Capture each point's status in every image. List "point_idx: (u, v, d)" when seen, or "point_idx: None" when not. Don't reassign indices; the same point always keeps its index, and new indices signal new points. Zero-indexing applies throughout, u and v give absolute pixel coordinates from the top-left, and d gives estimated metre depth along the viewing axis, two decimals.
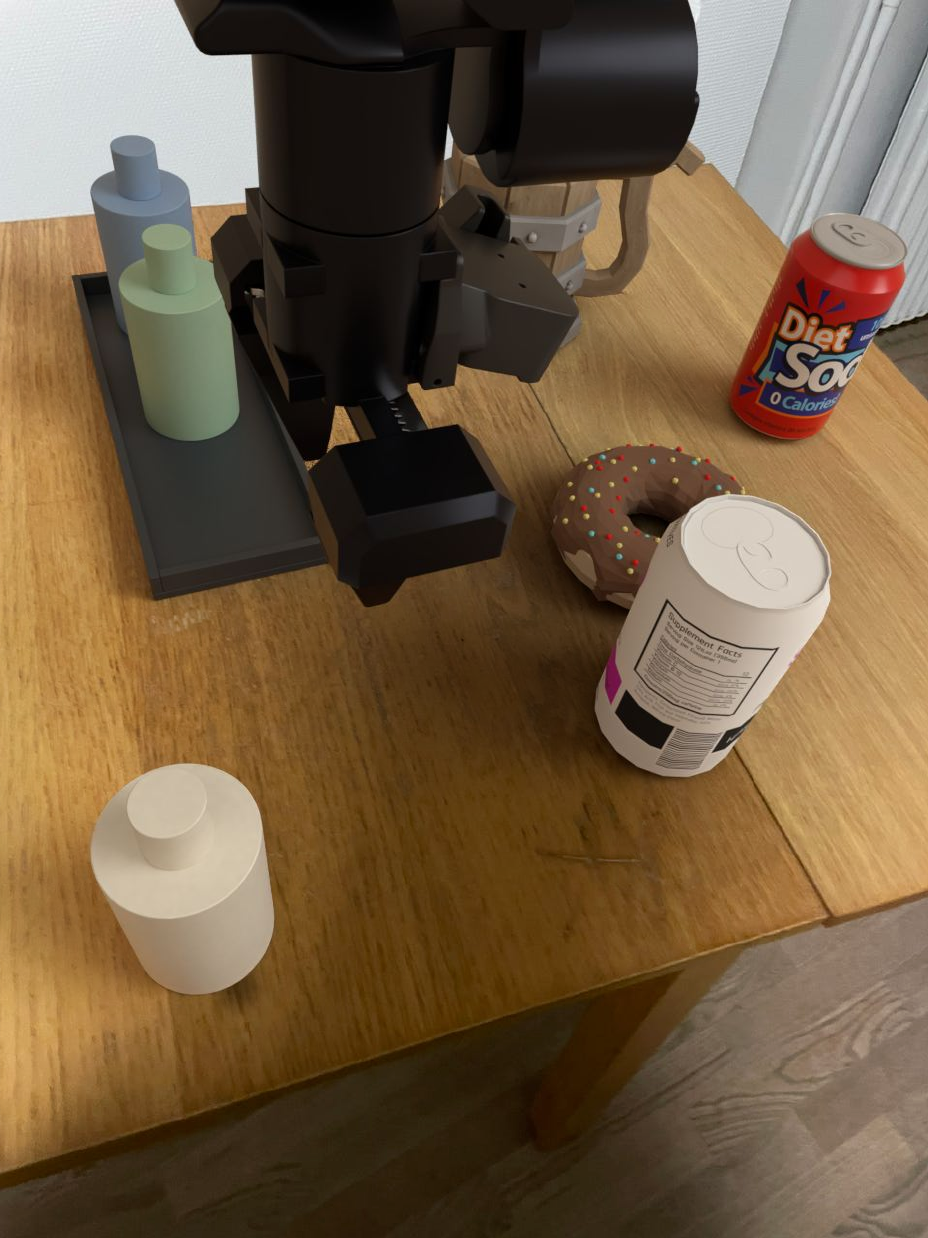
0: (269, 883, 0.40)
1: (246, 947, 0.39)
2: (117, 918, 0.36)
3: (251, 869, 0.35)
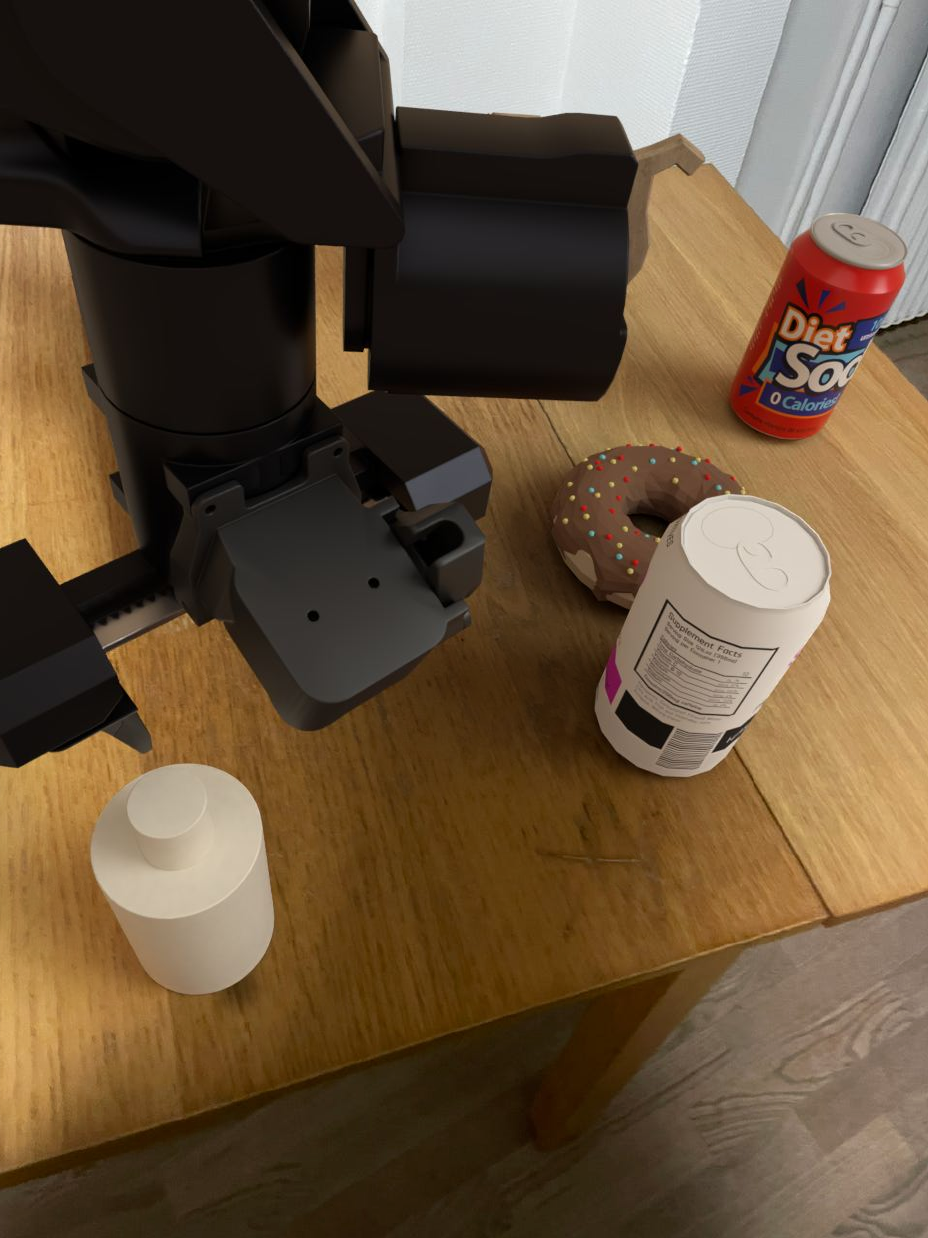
0: (269, 883, 0.40)
1: (246, 947, 0.39)
2: (117, 918, 0.36)
3: (251, 869, 0.35)
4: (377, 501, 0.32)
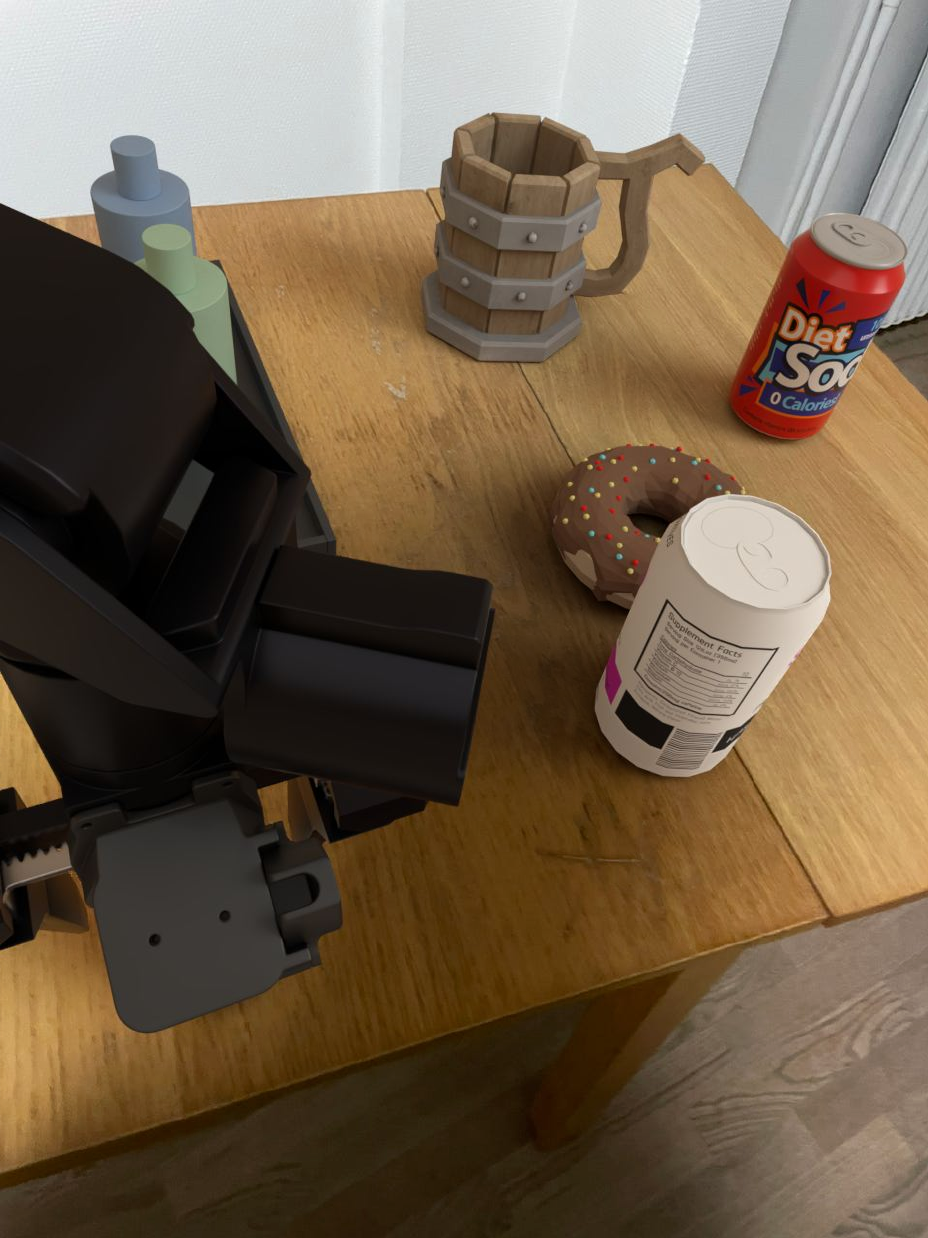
0: None
1: None
2: None
3: None
4: (318, 778, 0.34)
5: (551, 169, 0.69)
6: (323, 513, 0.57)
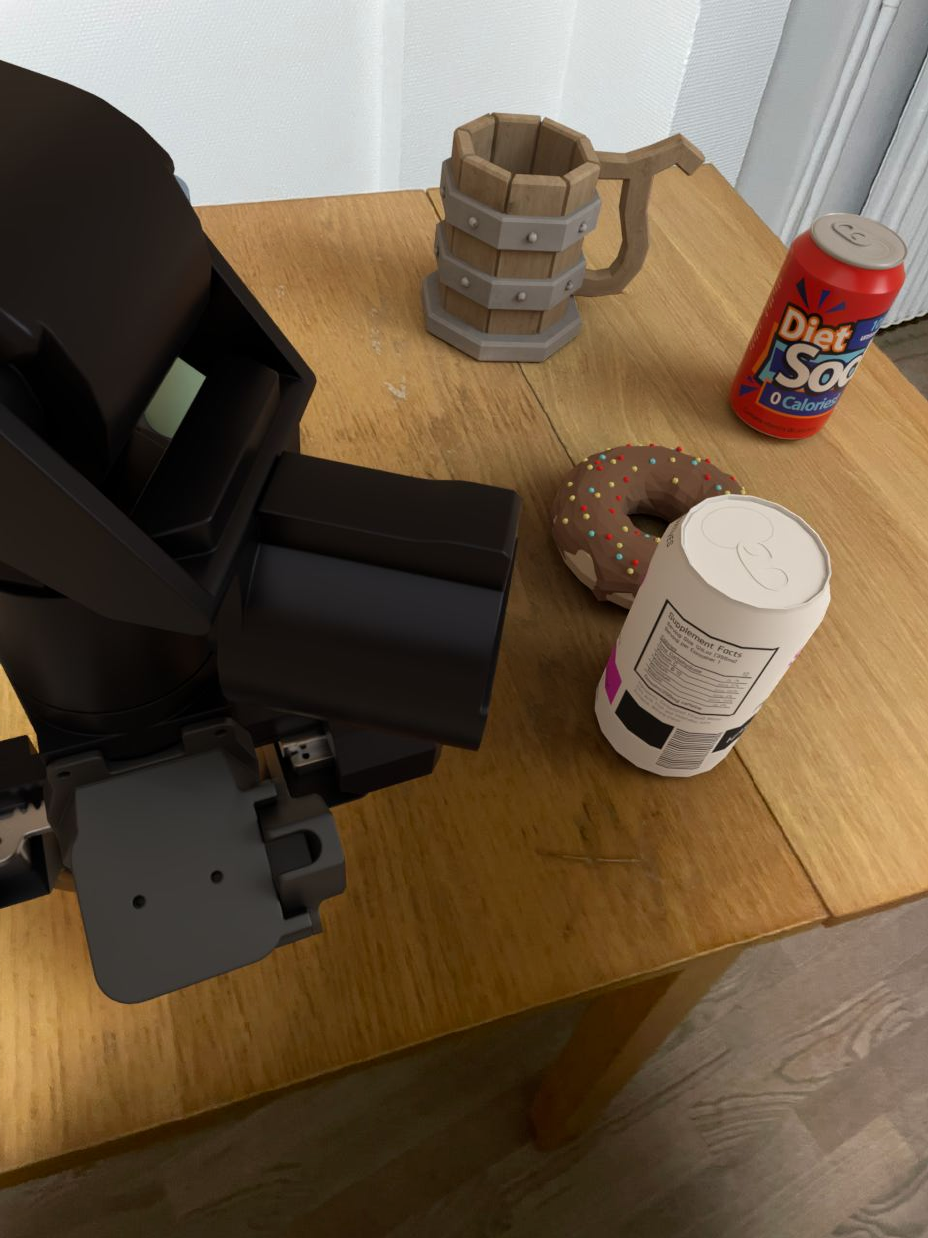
0: None
1: None
2: None
3: None
4: (285, 746, 0.31)
5: (551, 169, 0.69)
6: None
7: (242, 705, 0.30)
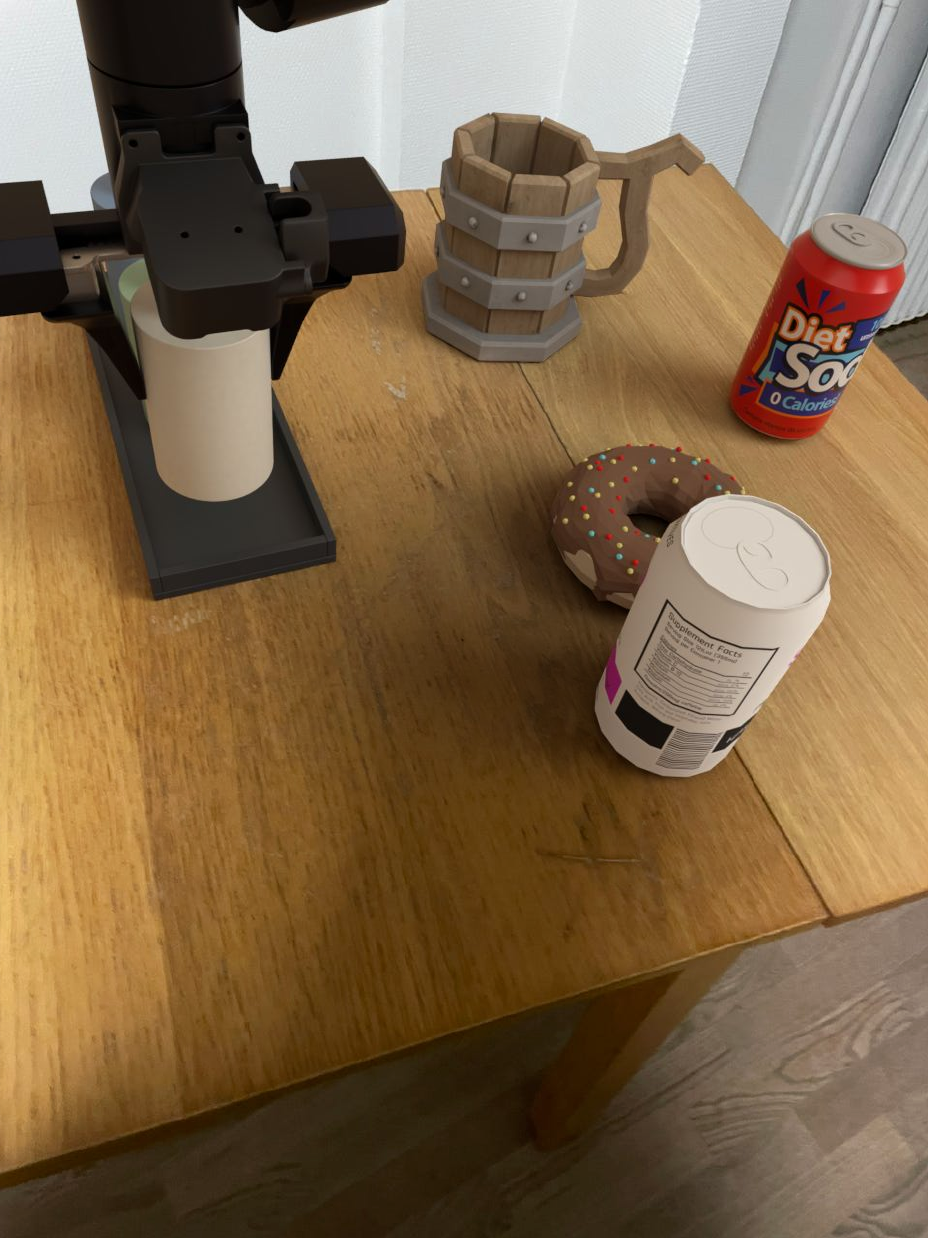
0: (271, 398, 0.48)
1: (252, 445, 0.48)
2: (148, 382, 0.44)
3: None
4: None
5: (551, 169, 0.69)
6: (323, 513, 0.57)
7: None
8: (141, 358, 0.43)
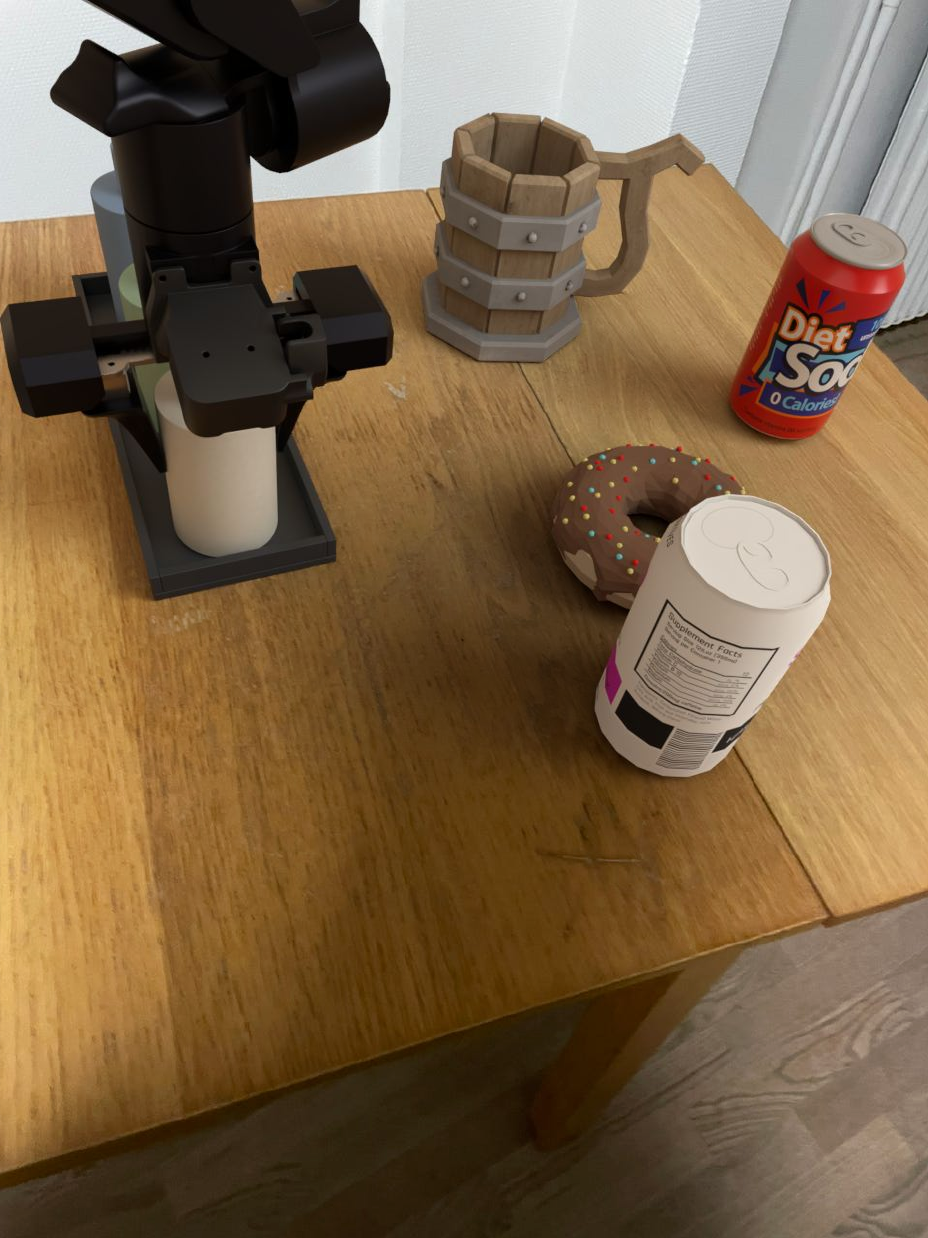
0: None
1: (259, 510, 0.54)
2: (169, 459, 0.51)
3: None
4: None
5: (551, 169, 0.69)
6: (323, 513, 0.57)
7: None
8: (163, 439, 0.50)
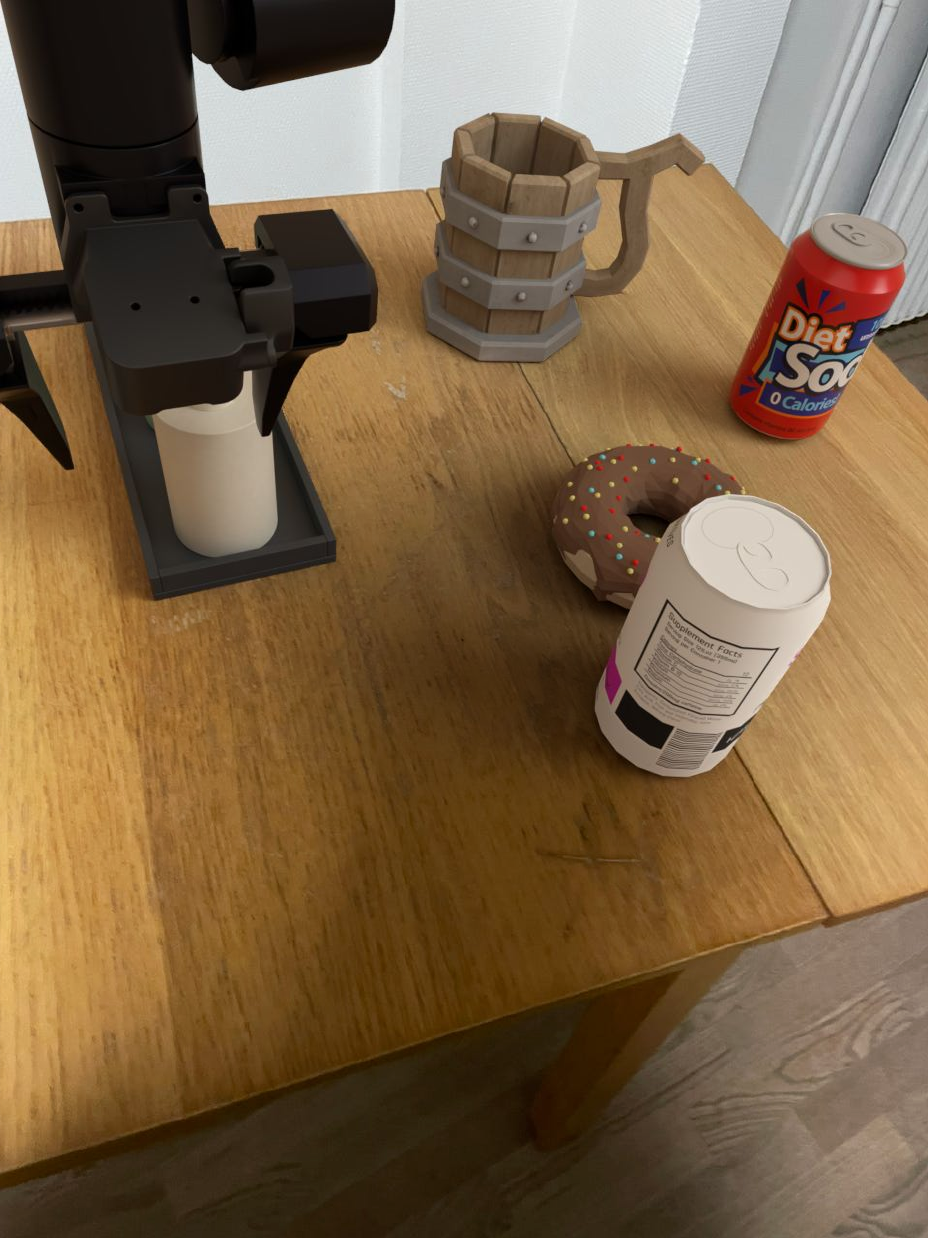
0: None
1: (257, 510, 0.54)
2: (166, 460, 0.51)
3: None
4: None
5: (551, 169, 0.69)
6: (323, 513, 0.57)
7: None
8: (160, 441, 0.50)
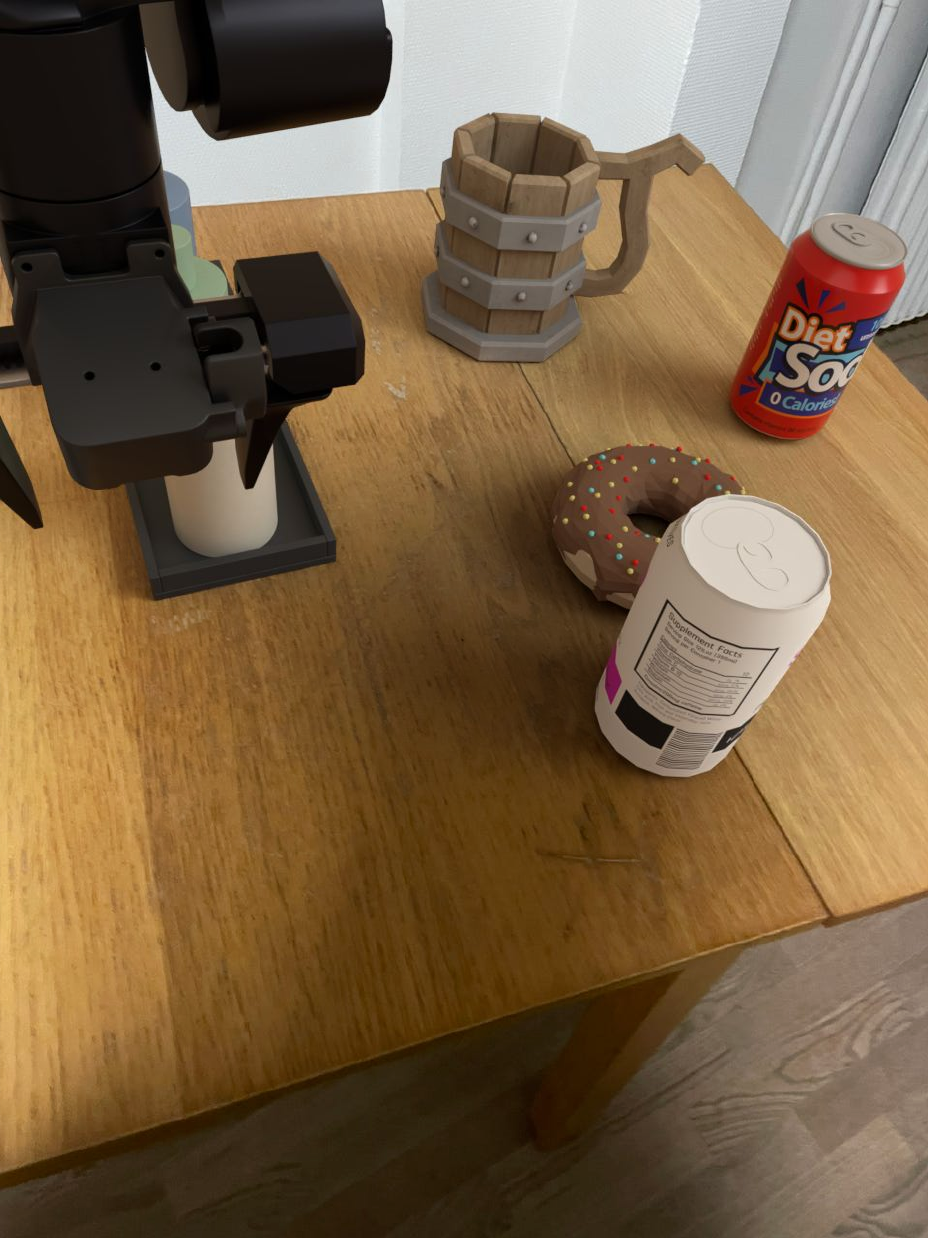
0: None
1: (257, 510, 0.54)
2: None
3: None
4: None
5: (551, 169, 0.69)
6: (323, 513, 0.57)
7: None
8: None
